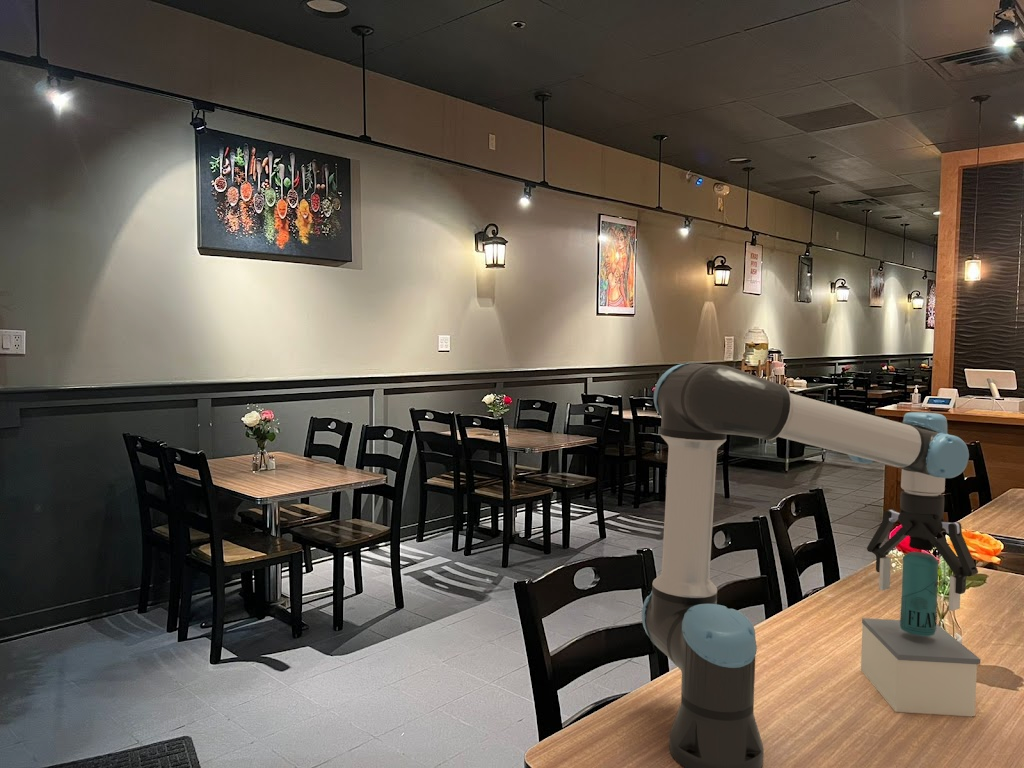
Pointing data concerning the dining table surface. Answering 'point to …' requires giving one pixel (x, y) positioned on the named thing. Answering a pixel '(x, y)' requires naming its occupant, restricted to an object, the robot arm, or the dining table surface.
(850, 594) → the dining table surface
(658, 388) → the robot arm
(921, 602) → the beverage bottle
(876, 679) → the box
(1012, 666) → the dining table surface
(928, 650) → the lid
